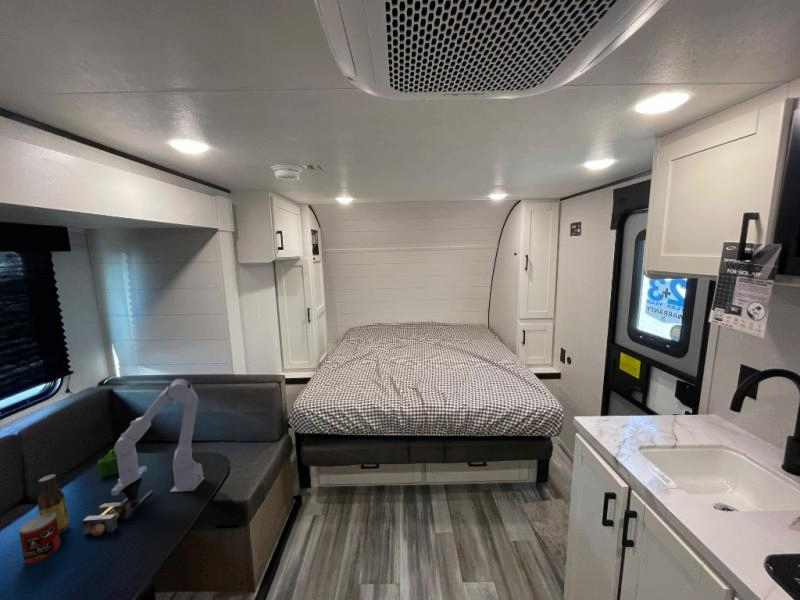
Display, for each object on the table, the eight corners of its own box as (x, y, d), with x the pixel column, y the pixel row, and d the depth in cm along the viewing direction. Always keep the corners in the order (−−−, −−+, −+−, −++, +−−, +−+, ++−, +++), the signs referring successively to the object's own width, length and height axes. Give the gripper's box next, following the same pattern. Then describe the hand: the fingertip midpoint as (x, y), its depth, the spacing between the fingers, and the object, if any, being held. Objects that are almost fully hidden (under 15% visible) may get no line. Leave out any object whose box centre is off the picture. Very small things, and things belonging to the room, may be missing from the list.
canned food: (18, 569, 96) (12, 535, 95) (33, 549, 103) (28, 517, 102) (53, 558, 100) (48, 525, 99) (65, 539, 107) (60, 508, 106)
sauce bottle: (73, 527, 112) (66, 473, 110) (49, 541, 106) (40, 485, 104) (62, 523, 114) (54, 470, 112) (38, 536, 108) (29, 481, 107)
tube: (115, 512, 117) (117, 504, 117) (124, 514, 117) (127, 506, 117) (90, 534, 107) (92, 525, 107) (100, 537, 107) (102, 528, 107)
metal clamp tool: (155, 492, 129) (154, 480, 128) (112, 532, 109) (110, 518, 108) (131, 493, 128) (130, 482, 128) (84, 534, 108) (82, 520, 108)
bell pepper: (112, 479, 139) (109, 457, 138) (94, 479, 139) (91, 457, 138) (129, 467, 147) (126, 446, 146) (111, 467, 147) (109, 447, 146)
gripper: (132, 456, 129) (137, 488, 130) (100, 479, 115) (105, 515, 116) (150, 455, 129) (154, 486, 130) (120, 478, 115) (125, 513, 116)
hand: (132, 500), depth 123 cm, fingers closed
